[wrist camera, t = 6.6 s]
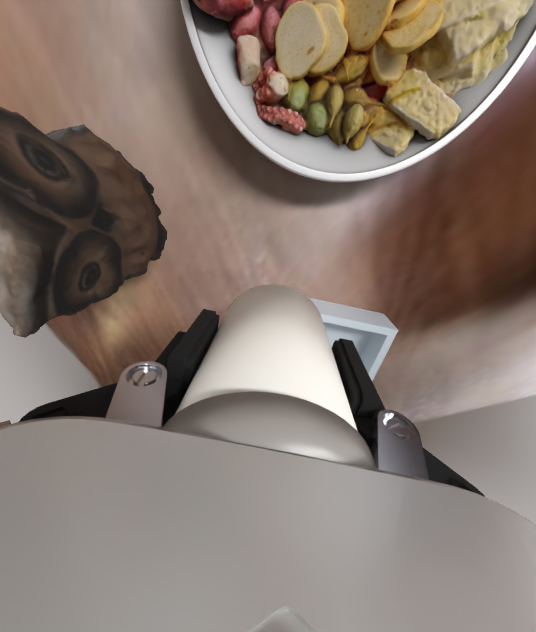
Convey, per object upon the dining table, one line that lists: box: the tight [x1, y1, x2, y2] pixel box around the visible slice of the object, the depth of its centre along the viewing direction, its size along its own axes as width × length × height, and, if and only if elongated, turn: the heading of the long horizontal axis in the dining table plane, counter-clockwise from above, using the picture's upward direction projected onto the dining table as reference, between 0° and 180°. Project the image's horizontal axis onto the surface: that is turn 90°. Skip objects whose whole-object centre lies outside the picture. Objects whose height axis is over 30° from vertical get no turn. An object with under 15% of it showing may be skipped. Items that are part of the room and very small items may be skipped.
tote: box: [308, 297, 398, 381], centre depth 37 cm, size 18×18×5 cm
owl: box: [0, 107, 167, 337], centre depth 22 cm, size 13×13×20 cm
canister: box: [163, 284, 376, 469], centre depth 9 cm, size 6×6×9 cm
